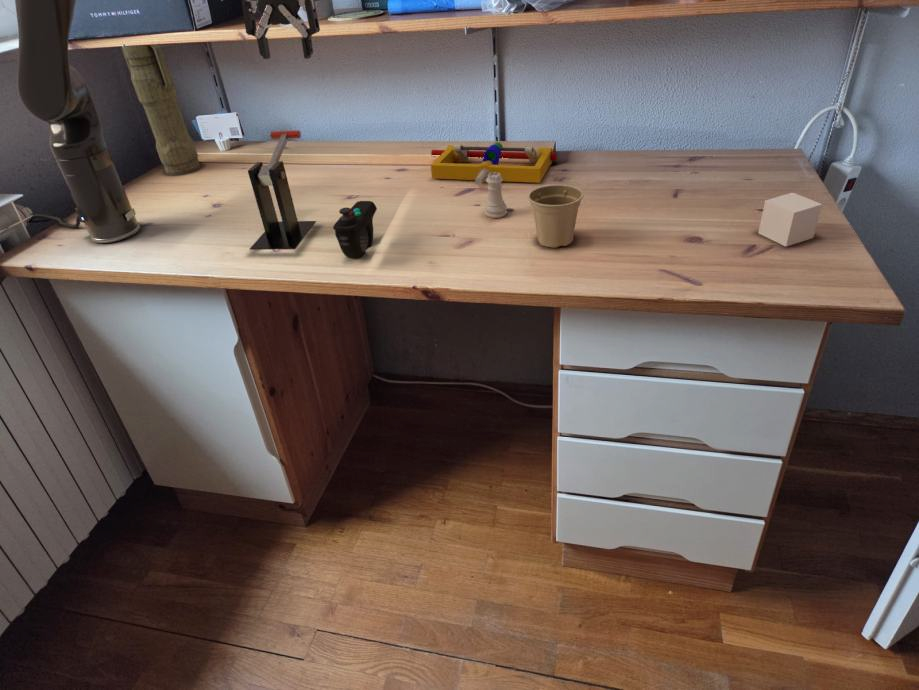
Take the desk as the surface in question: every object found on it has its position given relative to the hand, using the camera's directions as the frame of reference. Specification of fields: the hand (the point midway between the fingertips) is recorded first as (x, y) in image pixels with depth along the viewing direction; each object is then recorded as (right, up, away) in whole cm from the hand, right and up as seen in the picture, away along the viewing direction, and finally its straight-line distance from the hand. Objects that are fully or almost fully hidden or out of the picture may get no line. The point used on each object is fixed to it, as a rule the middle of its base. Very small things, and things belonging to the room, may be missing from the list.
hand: (287, 58), depth 125 cm
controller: (+17, -41, -11) cm, 46 cm away
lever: (0, -23, -7) cm, 24 cm away
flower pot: (+52, -39, -13) cm, 66 cm away
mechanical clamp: (+40, -19, +16) cm, 47 cm away
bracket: (+1, -37, -4) cm, 37 cm away
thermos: (-37, -12, +37) cm, 54 cm away
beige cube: (+90, -39, -19) cm, 100 cm away
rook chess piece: (+42, -32, -2) cm, 52 cm away
